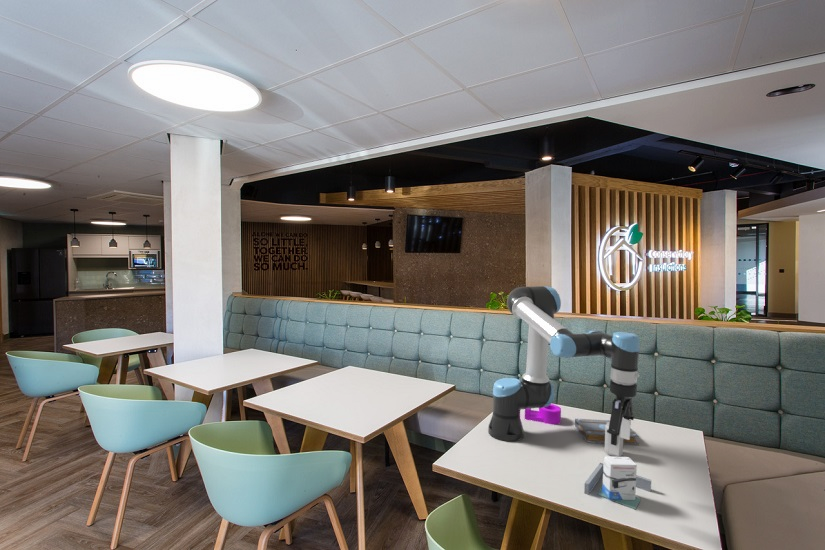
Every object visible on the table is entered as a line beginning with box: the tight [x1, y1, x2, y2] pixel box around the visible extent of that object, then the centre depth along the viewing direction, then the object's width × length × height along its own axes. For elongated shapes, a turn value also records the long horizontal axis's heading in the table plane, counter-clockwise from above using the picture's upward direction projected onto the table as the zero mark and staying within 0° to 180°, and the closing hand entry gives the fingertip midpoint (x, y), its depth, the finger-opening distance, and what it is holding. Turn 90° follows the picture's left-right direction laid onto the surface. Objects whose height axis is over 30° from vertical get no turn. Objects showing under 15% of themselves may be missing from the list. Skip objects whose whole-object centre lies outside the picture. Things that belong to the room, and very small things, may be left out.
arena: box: [583, 462, 652, 495], centre depth 129 cm, size 16×17×4 cm
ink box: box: [601, 455, 638, 501], centre depth 126 cm, size 8×5×12 cm, turn 90°
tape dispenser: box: [524, 403, 562, 425], centre depth 187 cm, size 16×10×6 cm, turn 68°
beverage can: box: [604, 421, 624, 457], centre depth 154 cm, size 6×6×12 cm
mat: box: [597, 487, 641, 510], centre depth 126 cm, size 11×7×1 cm, turn 49°
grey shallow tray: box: [574, 418, 640, 446], centre depth 171 cm, size 21×16×5 cm
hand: (619, 445), depth 126 cm, fingers open, 13 cm apart
